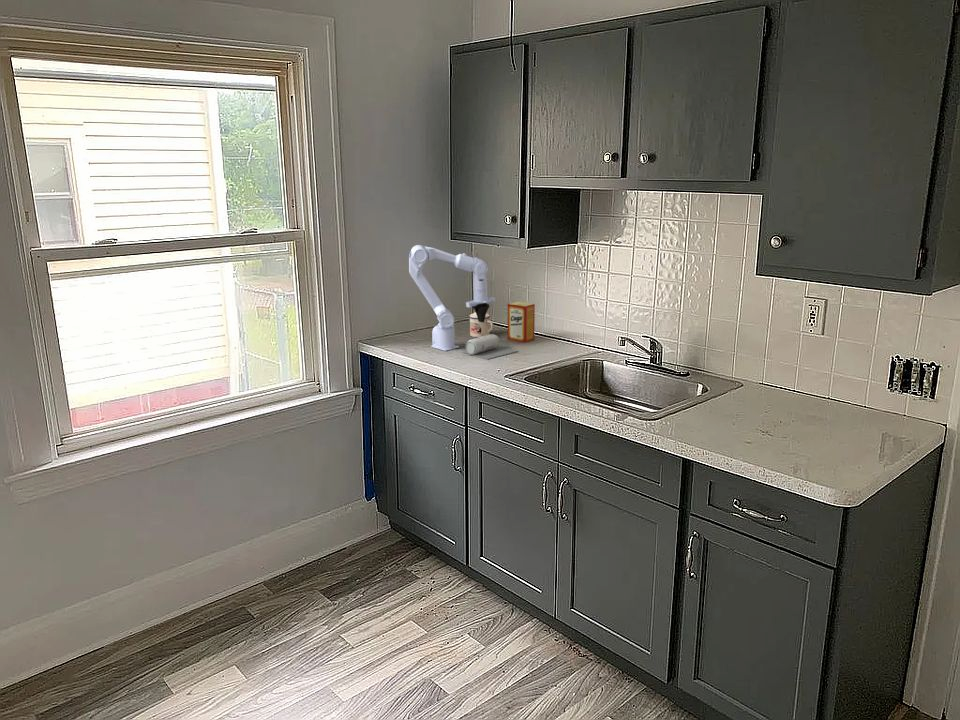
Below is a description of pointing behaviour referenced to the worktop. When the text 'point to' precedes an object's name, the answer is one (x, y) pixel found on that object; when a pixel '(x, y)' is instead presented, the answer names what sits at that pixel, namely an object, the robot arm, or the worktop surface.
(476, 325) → the teacup with lid
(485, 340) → the energy drink can
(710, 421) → the worktop surface
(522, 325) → the baking soda box
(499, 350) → the mat
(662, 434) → the worktop surface
